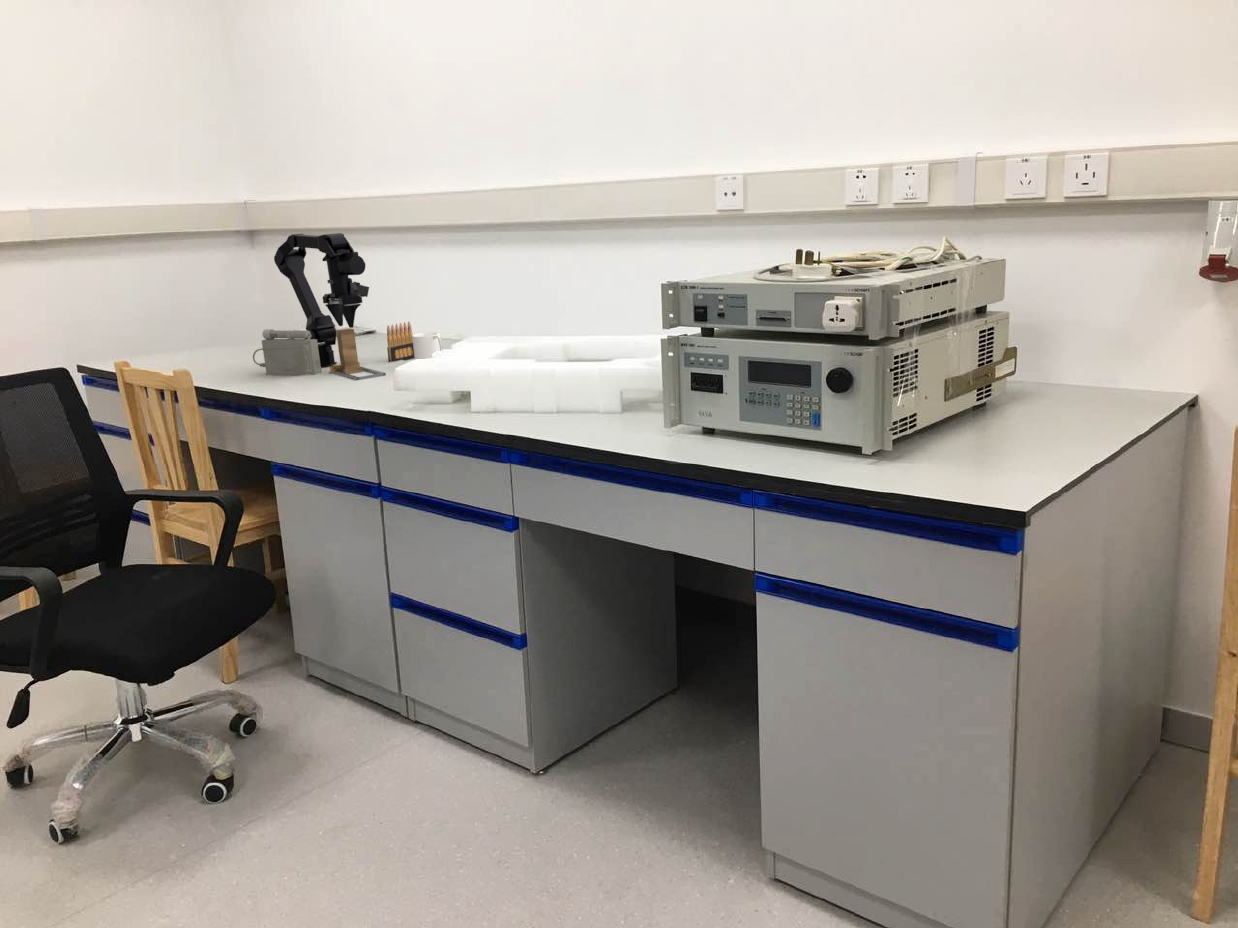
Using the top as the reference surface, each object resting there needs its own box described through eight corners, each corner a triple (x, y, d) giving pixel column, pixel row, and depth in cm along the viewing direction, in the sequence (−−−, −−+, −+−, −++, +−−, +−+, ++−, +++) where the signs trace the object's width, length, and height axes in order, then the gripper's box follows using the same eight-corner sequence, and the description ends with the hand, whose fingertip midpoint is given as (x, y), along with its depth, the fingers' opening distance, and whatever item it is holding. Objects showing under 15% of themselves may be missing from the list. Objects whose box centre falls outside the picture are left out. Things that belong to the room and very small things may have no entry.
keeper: (338, 372, 306) (332, 330, 302) (355, 369, 309) (350, 327, 305) (345, 374, 301) (339, 331, 297) (363, 371, 304) (357, 329, 301)
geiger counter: (318, 328, 304) (256, 328, 315) (304, 331, 299) (241, 331, 309) (325, 373, 308) (263, 372, 318) (310, 377, 302) (248, 375, 313)
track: (330, 373, 306) (329, 366, 306) (358, 369, 312) (357, 361, 311) (357, 381, 290) (355, 373, 289) (386, 377, 295) (385, 368, 294)
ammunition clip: (392, 363, 319) (387, 325, 316) (388, 363, 320) (383, 325, 317) (417, 357, 327) (412, 321, 324) (413, 357, 328) (408, 320, 325)
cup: (432, 371, 299) (428, 338, 296) (410, 368, 308) (406, 335, 305) (455, 367, 304) (451, 334, 302) (433, 364, 313) (429, 331, 310)
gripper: (375, 273, 303) (382, 324, 307) (353, 272, 318) (360, 322, 322) (339, 277, 297) (347, 329, 301) (318, 276, 312) (326, 326, 316)
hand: (346, 326), depth 310 cm, fingers open, 9 cm apart
